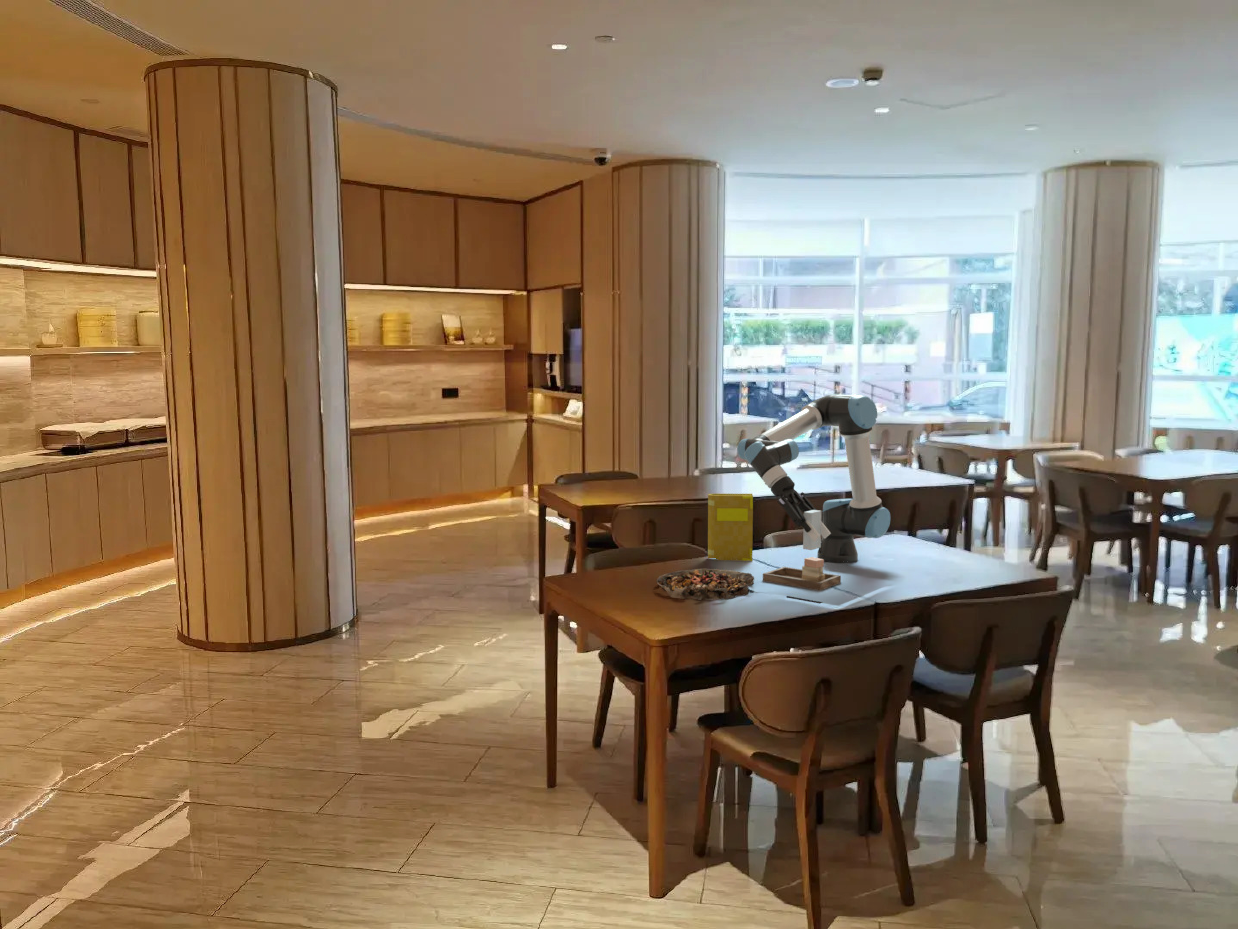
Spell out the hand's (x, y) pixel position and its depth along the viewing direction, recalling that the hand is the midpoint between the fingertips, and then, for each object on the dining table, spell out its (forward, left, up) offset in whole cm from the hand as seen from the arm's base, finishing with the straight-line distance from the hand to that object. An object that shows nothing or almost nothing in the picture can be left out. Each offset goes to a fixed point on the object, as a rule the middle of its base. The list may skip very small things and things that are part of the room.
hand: (822, 537), depth 306 cm
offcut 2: (-12, -10, -16) cm, 22 cm away
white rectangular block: (0, -4, -4) cm, 5 cm away
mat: (0, -4, -20) cm, 20 cm away
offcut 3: (-12, -10, -19) cm, 25 cm away
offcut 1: (-13, -10, -13) cm, 21 cm away
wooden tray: (-12, -15, -20) cm, 28 cm away
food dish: (+12, -37, -21) cm, 44 cm away
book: (-32, -58, -20) cm, 69 cm away
